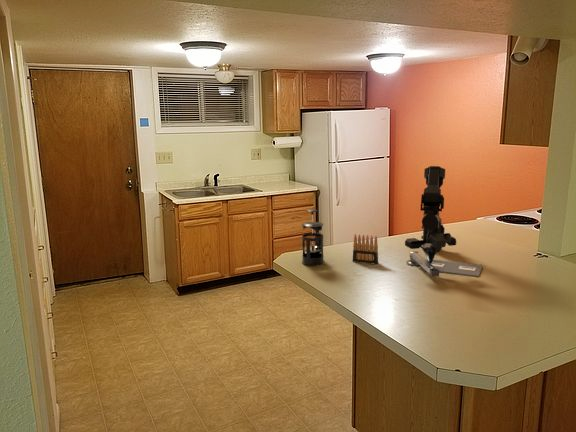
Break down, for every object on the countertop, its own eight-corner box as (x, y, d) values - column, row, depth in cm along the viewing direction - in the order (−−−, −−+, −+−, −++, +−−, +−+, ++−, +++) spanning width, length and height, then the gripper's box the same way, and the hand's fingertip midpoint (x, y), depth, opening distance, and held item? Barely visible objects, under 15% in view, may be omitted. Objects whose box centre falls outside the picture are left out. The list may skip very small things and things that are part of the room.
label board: (419, 269, 188) (419, 267, 187) (427, 260, 200) (427, 258, 199) (478, 277, 177) (478, 275, 177) (482, 266, 190) (482, 264, 189)
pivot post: (404, 264, 194) (404, 258, 194) (408, 260, 199) (408, 254, 199) (419, 266, 191) (419, 260, 191) (422, 262, 197) (422, 256, 196)
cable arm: (408, 255, 197) (408, 250, 196) (416, 255, 197) (416, 250, 196) (430, 276, 171) (430, 270, 170) (440, 276, 171) (440, 270, 171)
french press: (317, 267, 193) (317, 213, 188) (297, 264, 198) (296, 211, 193) (329, 259, 203) (328, 207, 198) (309, 257, 208) (308, 206, 203)
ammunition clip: (352, 261, 200) (352, 234, 198) (353, 260, 202) (353, 233, 200) (377, 264, 196) (377, 236, 193) (378, 262, 198) (378, 235, 195)
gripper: (417, 230, 169) (417, 271, 172) (465, 226, 173) (463, 267, 176) (404, 224, 180) (404, 263, 183) (449, 220, 183) (448, 259, 186)
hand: (430, 263), depth 182 cm, fingers closed
